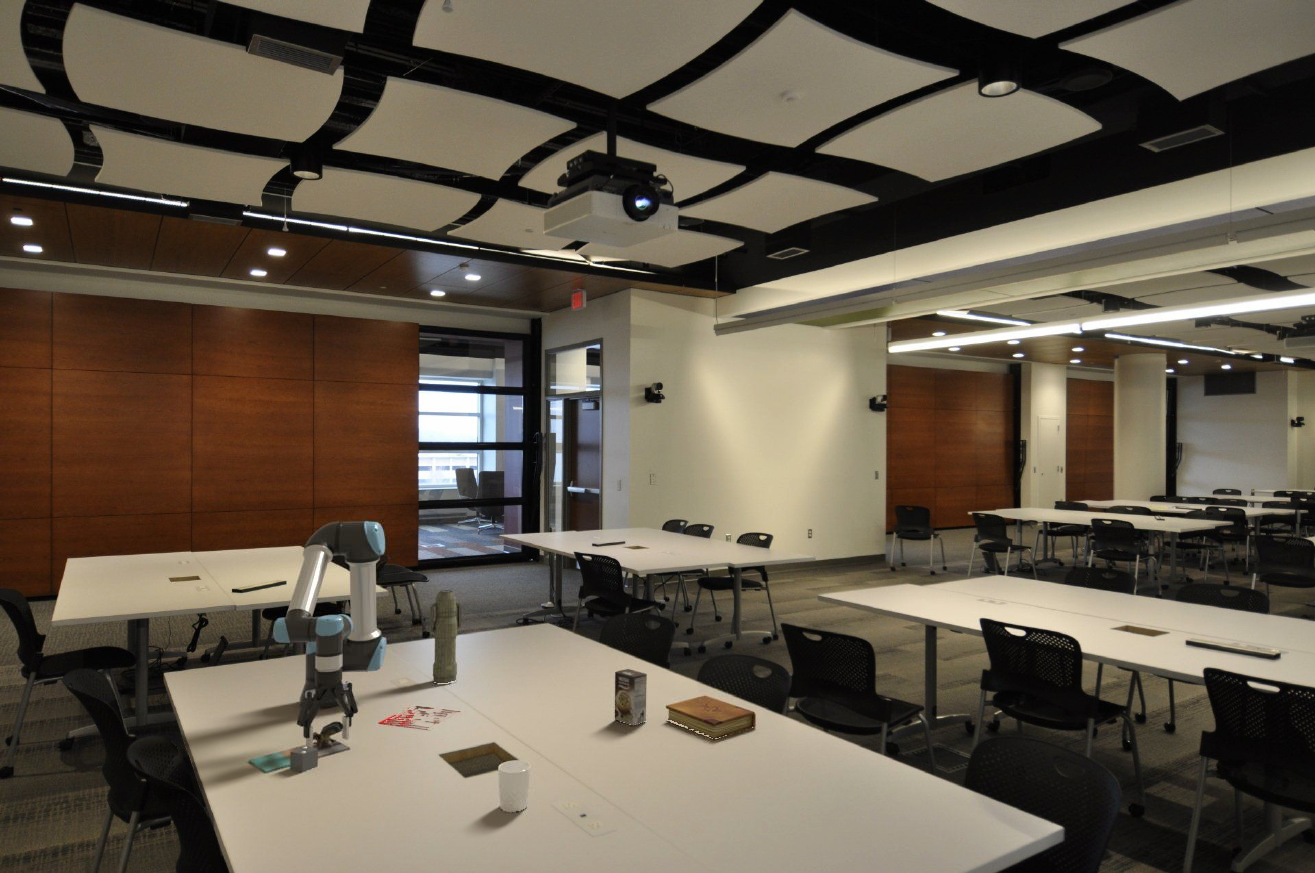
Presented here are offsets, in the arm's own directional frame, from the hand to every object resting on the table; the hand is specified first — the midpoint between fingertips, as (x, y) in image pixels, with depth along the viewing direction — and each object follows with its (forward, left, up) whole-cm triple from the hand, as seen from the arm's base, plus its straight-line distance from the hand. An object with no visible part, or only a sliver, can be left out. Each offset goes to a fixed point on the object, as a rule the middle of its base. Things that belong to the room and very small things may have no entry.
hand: (327, 743), depth 236 cm
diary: (-94, +71, -2) cm, 118 cm away
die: (+12, +10, -1) cm, 15 cm away
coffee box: (-78, +50, -2) cm, 93 cm away
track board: (+8, 0, -1) cm, 8 cm away
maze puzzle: (-34, -4, -2) cm, 35 cm away
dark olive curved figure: (0, -1, -1) cm, 1 cm away
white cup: (-12, +73, -2) cm, 74 cm away
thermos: (-63, -35, -2) cm, 72 cm away
